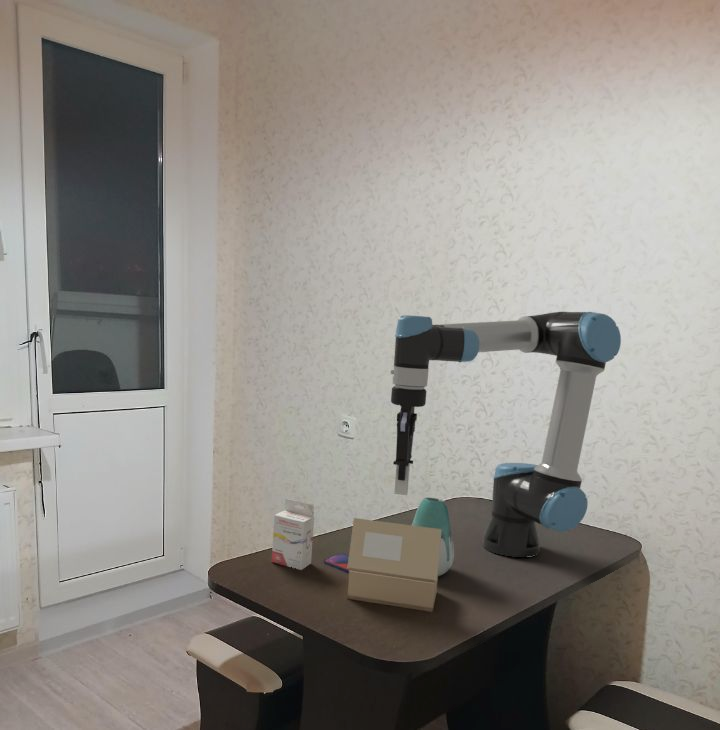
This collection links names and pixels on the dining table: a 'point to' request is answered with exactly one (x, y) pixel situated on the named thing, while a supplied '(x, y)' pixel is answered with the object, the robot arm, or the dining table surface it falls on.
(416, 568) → the lid
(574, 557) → the dining table surface
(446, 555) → the vase
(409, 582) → the box
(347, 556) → the smartphone
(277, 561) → the ink cartridge box
